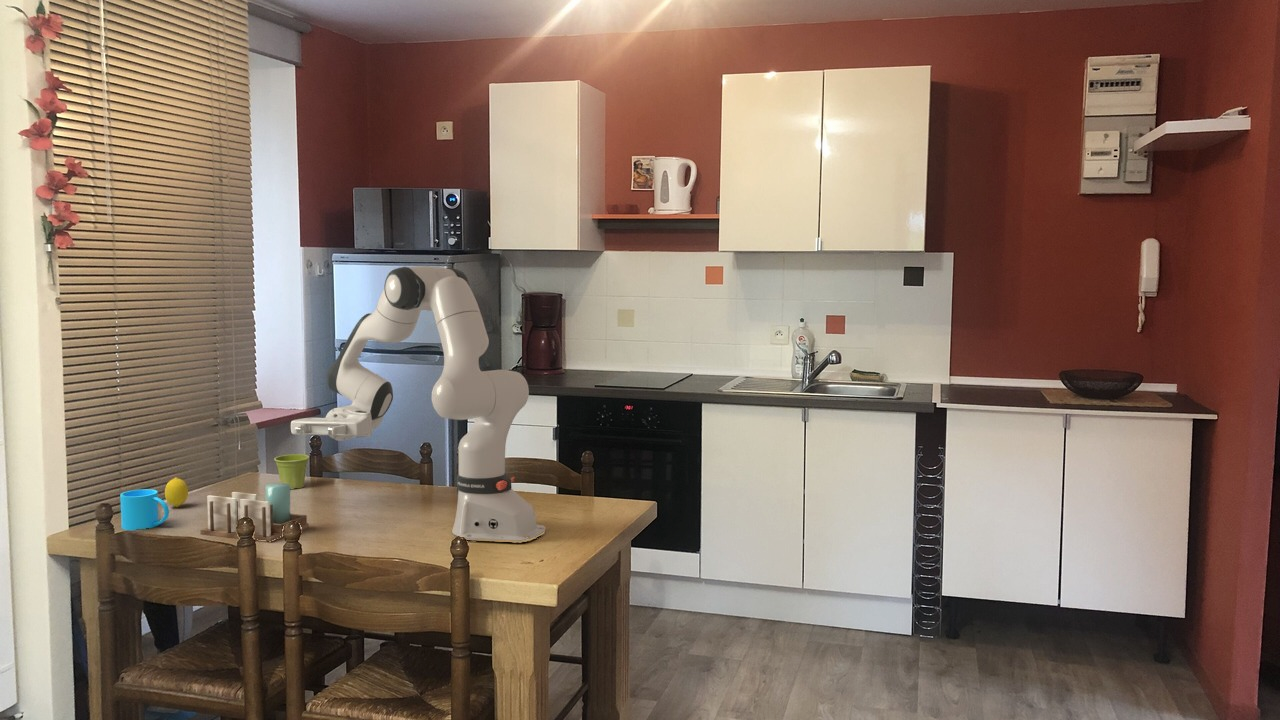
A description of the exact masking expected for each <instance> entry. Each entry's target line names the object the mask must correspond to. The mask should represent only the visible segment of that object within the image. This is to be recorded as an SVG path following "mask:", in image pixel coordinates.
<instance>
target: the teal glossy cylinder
mask: <svg viewBox="0 0 1280 720" xmlns="http://www.w3.org/2000/svg"><path fill="white" fill-rule="evenodd" d="M265 501H266V502H270V505H273V523H275V524H282V523H285V522H288V521H290V513H291V490H290V484H287V483H281V482H276V483H275V482H274V483H268V484H266V485H265Z"/></svg>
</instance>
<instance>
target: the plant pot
mask: <svg viewBox="0 0 1280 720" xmlns="http://www.w3.org/2000/svg"><path fill="white" fill-rule="evenodd" d="M309 459H310V456H309V455H307V454H284V455H279V456H276V457H274V461H275V464H276V466H277V471H278V475H279V480H280V482H279V483H287V484H290V489H291V490H294V489H302V488H303V487H305V480H306V471H307V464H308V460H309Z"/></svg>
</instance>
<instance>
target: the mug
mask: <svg viewBox="0 0 1280 720" xmlns="http://www.w3.org/2000/svg"><path fill="white" fill-rule="evenodd" d="M159 504H160V505H161V507H162V509H163V511H164V512H163V517H162V518H161V519H160V518H159V517H160V516H159ZM169 514H170V510H169V506H168V505H167V503H166V501H164V500H163V499H162V498H160V497H159V493H158V490H156V489H147V488H146V489H144V488H143V489H134V490H128V491H127V490H126V491H124V492H121V493H120V519H121V523H120V524H121V529H122V530H124V531H137V530H136V529H144V530H147V529H146V528H149V529H153V528H155V527H158V526H159V525H161V524H163V523H164V522H166V521H167V519H168V518H169Z"/></svg>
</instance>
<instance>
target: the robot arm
mask: <svg viewBox="0 0 1280 720" xmlns="http://www.w3.org/2000/svg"><path fill="white" fill-rule="evenodd" d="M421 311H427V312H429V311H432V313H433V317H434V320H435V325H436V328H437V331H438V335H439V339H440V342H441V346H442V347H441V348H442V351H443V369H442V372H441V374H440V376H439V377H438V380H437V381H435V384H434V385H433V387H432V391H431V396H430V397H431V404H432V407H433V408H434V410H435V412H436V414H437V415H438V416H440V417H441V418H442V419H447V420H454V421H455V420H457V421H465V420H470V419H471V420H472V419H474V422H473V425H472V427H471V428H470V430H469V431H468V432H467V433H465V435H464V436H462V438H460V440H459V443H458V446H457V447H458V449H457V451H458V453H457V454H458V473H457V474H456V494H457V503H456V504H457V505H456V506H457V507H456V513H455V519H454V524H453V526H452V530H451V532H452V534H453V535H455V536H456V537H458V536H460V537H465V538H466V539H468V540H475V539H479V540H480V539H482V540H483V539H485V540H504V541H505V540H509V541H510V540H511V541H522V540H526V539H531V538H533V537H536V536H538V535H540V534H541V533H543V532H544V531H545V530H546V526H545V525H541V524H538V523H537V516H536V512H535V509H534V506H533V505H532V504H531V503H529V502H528V501H527V500H525V499H524V498H523V497H522V496H520V495H519V494H518V493H517V492H516V491H515V490H514V489H513V488H512V483H513V482H515V480H514V479H515V478H516V477H515V476H512V477H509V475H508V474H507V473H506V446H507V445H506V444H507V439H508V434H509V431H510V429H511V426H512V423H513V421H514V419H515V417H516V416H517V414H518V413H519V412H520V411H521V410H522V409H523V408H524V407H525V405H526V404H527V402H528V399H529V395H530V393H529V392H530V391H529V383H528V381H527V380H526V378H525V377H524V376H523V374H521V373H520V372H518V371H513V370H508V369H495V370H484V371H483V370H481V369H480V363H479V359H480V358H481V356H483V355H484V354H485V352H486V351H487V349H488V347H489V343H490V342H489V341H490V339H489V336H488V333H487V330H486V326H485V323H484V319H483V317H482V313H481V310H480V307H479V305H478V301H477V300H476V297H475V295H474V293H473V290H472V289H471V287H470V283H469V280H468V277H467V275H466V274H465V272H463V271H462V270H459V269H457V268H453V267H439V266H430V265H429V266H428V265H419V266H410V267H409V266H401V267H397V268H394V269H392V270H390V272H388V274H387V276H386V278H385V280H384V288H383V290H382V292H381V294H380V296H379V298H378V301H377V304H376V308H375V309H374V311H373V312H372V313H369V312H368V313H366V314H364V315H363V316H362V317H361V318H360V319H359V320H358V321H357V322H356V324H355V326H354V327H353V329H352V331H351V333H350V334H349V336H348V337H347V340H346V341H345V343H344V345H343V347H342V349H341V350H340V353H339V354H338V356H337V357H336V359H335V361H334V362H333V363H332V364H331V366H330V367H329V369H328V371H327V373H326V383H327V386H328V388H329V390H330V391H332V392H335V393H336V394H338V395H340V396H343V397H345V398H346V399H348V400H349V401H351V402H352V403H351V404H350V405H343V406H339V407H335V408H332V409H331V410H329V411H328V412H327V414H326V416H325V417H305V418H297V419H293V420H291V422H290V431H291V434H292V435H300V436H303V435H304V436H305V435H306V436H329V437H330V438H331V439H333V440H335V441H339V442H343V441H347V440H351V439H354V438H367V437H369V438H370V437H371V436H372V433H373V431H374V430H376V429H377V428H378V427H380V425H381V423H382V422H383V420H384V415H386V413H387V412H388V411H389V409H390V406H391V404H392V402H393V400H394V399H393V398H394V391H393V386H392V383H391V382H390V381H389V380H387V379H385V378H383V377H382V376H380V375H379V374H377V373H375V372H374V371H371V370H370V369H368V368H367V367H365V366H363V365H362V363H360V361H359V357H360V355H361V354H362V352H363V351H364V348H365V346H366V344H367V343H368V341H374V342H375V341H376V342H379V343H386V344H395V343H400V342H402V341H405V340H407V339H408V338H410V337H411V336H412V334H413V333H414V331H415V328H416V326H417V323H418V321H419V317H420V315H421ZM526 537H528V538H526Z"/></svg>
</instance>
